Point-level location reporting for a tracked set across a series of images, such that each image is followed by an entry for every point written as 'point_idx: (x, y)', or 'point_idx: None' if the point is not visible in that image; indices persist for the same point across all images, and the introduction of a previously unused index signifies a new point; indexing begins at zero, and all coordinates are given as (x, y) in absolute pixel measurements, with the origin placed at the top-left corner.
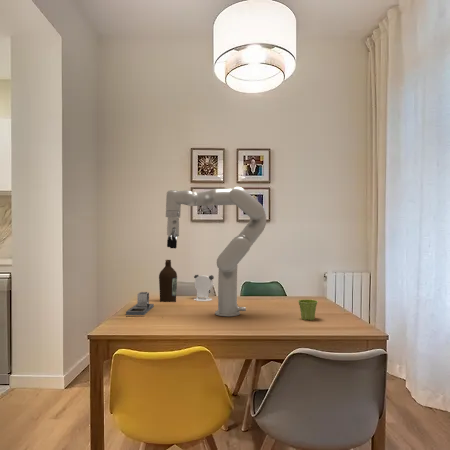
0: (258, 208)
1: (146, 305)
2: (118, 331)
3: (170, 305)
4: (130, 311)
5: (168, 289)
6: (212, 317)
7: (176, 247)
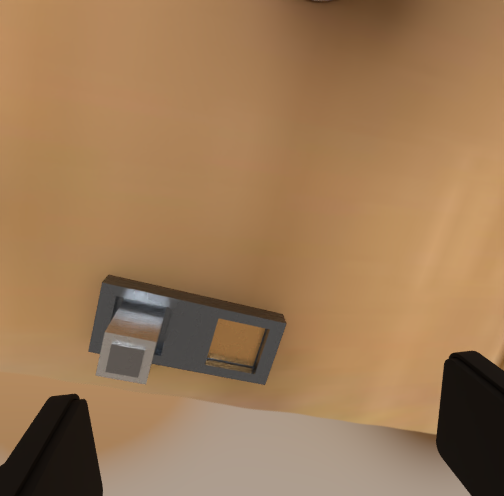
0: None
1: (163, 315)
2: None
3: (33, 190)
4: (264, 370)
5: None
6: (367, 34)
7: (481, 355)
